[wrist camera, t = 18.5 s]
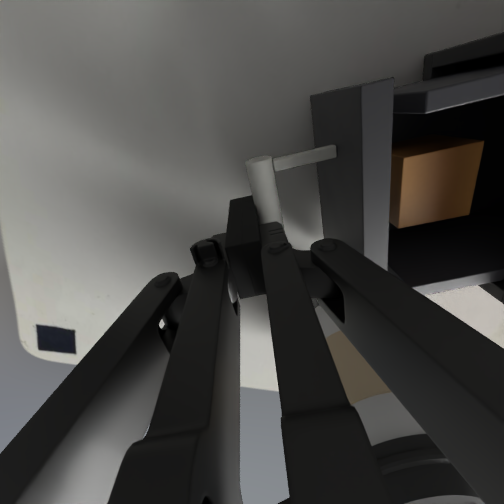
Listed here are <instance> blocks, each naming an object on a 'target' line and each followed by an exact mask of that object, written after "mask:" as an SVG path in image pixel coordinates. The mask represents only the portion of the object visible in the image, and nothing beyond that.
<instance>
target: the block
mask: <svg viewBox="0 0 504 504" xmlns="http://www.w3.org/2000/svg"><path fill="white" fill-rule="evenodd" d="M483 146H484V141H483V140H475V139H467V138H459V137H451V136H443V135H435V134H431V135H427V136H422V137H418V138H413V139H408V140H404V141H399V142H395V143H392V151H391V180H390V209H389V222H390V223H392V224H393V225H394V226H396V227H397V228H404V227H409V226H414V225H419V224H424V223H429V222H435V221H440V220H445V219H450V218H455V217H460V216H465V215H469V213H470V208H471V203H472V198H473V194H474V189H475V184H476V179H477V175H478V170H479V165H480V160H481V155H482V151H483Z"/></svg>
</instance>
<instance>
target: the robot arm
mask: <svg viewBox="0 0 504 504" xmlns="http://www.w3.org/2000/svg"><path fill="white" fill-rule="evenodd" d="M190 251H191V253H192V256H193V259H194V261H195V264H196V267H195V270H194V273H193V274H191V275H188V276H186V277H183V278H181V279H180V278H179V276H178V274H177V273H175V272H167V273H162V274H159V275H158V276H156V277H155V278H153V279H152V280H151V281H150V282H149V283H148V284H147V285H146V286H145V287H144V288H143V290H142V291H141V292H140V293H139V294H138V295H137V297H136V298H135V299H134V300H133V301H132V302H131V303H130V305H129V306H128V307H127V308H126V309H125V310H124V312H123V313H122V314H121V315H120V316H119V317H118V318H117V320H116V321H115V322H114V323H113V324H112V325H111V327H110V328H109V329H108V330H107V331H106V332H105V333H104V335H103V336H102V337H101V338H100V339H99V340H98V342H97V343H96V344H95V345H94V346H93V347H92V349H91V350H90V351H89V352H88V353H87V354H86V355H85V357H84V358H83V359H82V360H81V361H80V362H79V364H78V365H77V366H76V367H75V368H74V369H73V370H72V372H71V373H70V374H69V375H68V376H67V378H66V379H65V380H64V381H63V382H62V383H61V384H60V385H59V387H58V388H57V389H56V390H55V391H54V392H53V394H52V395H51V396H50V397H49V398H48V399H47V400H46V402H45V403H44V404H43V405H42V406H41V407H40V409H39V410H38V411H37V412H36V413H35V414H34V415H33V417H32V418H31V419H30V420H29V421H28V422H27V424H26V425H25V426H24V427H23V428H22V429H21V431H20V432H19V433H18V434H17V435H16V437H14V439H13V440H12V441H11V442H10V443H9V444H8V445H7V447H6V448H5V449H4V450H3V451H2V452H1V454H0V504H243V501H242V495H241V490H240V304H239V301H238V298H237V295H238V294H239V297H240V299H243V298H248V297H253V296H258V295H263V294H266V296H267V304H268V311H269V319H270V327H271V334H272V342H273V349H274V357H275V364H276V372H277V380H278V387H279V394H280V402H281V409H282V417H281V429H282V439H283V446H284V455H285V463H286V471H287V478H288V487H289V495H290V497H289V498H288V499H286V500H284V501H282V502H280V503H278V504H394V502H393V500H392V497H391V495H390V492H389V490H388V487H387V484H386V482H385V479H384V477H383V474H382V471H381V469H380V466H379V464H378V461H377V459H376V456H375V453H374V451H373V448H372V446H371V443H370V440H369V438H368V435H367V433H366V430H365V427H364V425H363V423H362V420H361V418H360V416H359V413H358V411H357V410H356V408H355V407H354V406H352V405H351V404H350V402H349V400H348V398H347V395H346V393H345V390H344V387H343V384H342V382H341V379H340V376H339V373H338V371H337V368H336V365H335V363H334V360H333V357H332V354H331V352H330V349H329V346H328V344H327V341H326V338H325V335H324V333H323V330H322V327H321V324H320V322H319V319H318V316H317V314H316V311H315V308H314V305H313V303H312V300H311V298H317V302H318V304H319V305H320V306H321V307H322V308H323V310H324V311H325V312H326V313H327V314H328V316H329V317H330V318H331V319H332V320H333V322H334V323H335V324H336V325H337V327H338V328H339V329H340V330H341V331H342V333H343V334H344V335H345V336H346V337H347V339H348V340H349V341H350V342H351V343H352V345H353V346H354V347H355V348H356V349H357V351H358V352H359V353H360V354H361V355H362V357H363V358H364V359H365V360H366V361H367V363H368V364H369V365H370V366H371V367H372V369H373V370H374V371H375V372H376V373H377V375H378V376H379V377H380V378H381V379H382V381H383V382H384V383H385V384H386V385H387V387H388V388H389V389H390V390H391V392H392V393H393V394H394V395H395V396H396V398H397V399H398V400H399V401H400V402H401V404H402V405H403V406H404V407H405V408H406V410H407V411H408V412H409V413H410V414H411V416H412V417H413V418H414V419H415V420H416V422H417V423H418V424H419V425H420V426H421V428H422V429H423V430H424V431H425V432H426V434H427V435H428V436H429V437H430V438H431V440H432V441H433V442H434V443H435V444H436V446H437V447H438V448H439V449H440V450H441V452H442V453H443V454H444V455H445V457H446V458H447V459H448V460H449V461H450V463H451V464H452V465H453V466H454V467H455V469H456V470H457V471H458V472H459V473H460V475H461V476H462V477H463V478H464V479H465V481H466V482H467V483H468V484H469V485H470V487H471V488H472V489H473V490H474V491H475V493H476V494H477V495H478V496H479V497H480V499H481V500H482V501H483V502H484V503H485V504H504V349H503V348H502V347H500V346H499V345H497V344H496V343H494V342H493V341H491V340H490V339H488V338H487V337H485V336H484V335H482V334H481V333H479V332H478V331H476V330H475V329H473V328H472V327H470V326H469V325H467V324H466V323H464V322H463V321H461V320H460V319H458V318H457V317H455V316H454V315H452V314H451V313H449V312H448V311H446V310H445V309H443V308H442V307H440V306H439V305H437V304H436V303H434V302H433V301H431V300H430V299H428V298H427V297H425V296H424V295H422V294H421V293H419V292H418V291H416V290H415V289H413V288H412V287H410V286H409V285H407V284H406V283H404V282H403V281H401V280H400V279H398V278H397V277H395V276H394V275H392V274H391V273H389V272H388V271H386V270H385V269H383V268H382V267H380V266H379V265H377V264H376V263H374V262H373V261H371V260H370V259H368V258H367V257H365V256H364V255H362V254H361V253H359V252H358V251H356V250H355V249H353V248H352V247H350V246H349V245H347V244H346V243H344V242H343V241H341V240H338V239H333V238H328V239H327V238H325V239H322V240H318V241H316V242H314V243H313V244H312V245H311V248H310V250H308V251H302V250H296V249H293V248H292V245H291V244H290V243H288V240H287V237H286V235H285V232H284V229H283V226H282V224H281V223H279V222H277V221H274V222H270V223H265V224H261V225H259V222H258V217H257V213H256V208H255V204H254V200H253V195H251V196H247V197H242V198H238V199H233V200H230V207H229V216H228V224H227V232H226V233H222V234H217V235H213V237H212V238H209V239H204V240H201V241H199V242H197V243H195V244H194V245H192V246H191V248H190ZM161 319H163V321H164V323H165V325H164V326H163V328H162V329H161V328H160V327H159V323H160V321H161ZM150 422H151V423H150ZM149 424H150V426H149ZM148 426H149V429H148V432H147V434H146V436H145V437H144V438H143V436H144V434H145V432H146V430H147V428H148ZM142 438H143V439H142Z"/></svg>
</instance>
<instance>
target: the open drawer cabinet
mask: <svg viewBox="0 0 504 504" xmlns="http://www.w3.org/2000/svg"><path fill="white" fill-rule="evenodd" d="M310 102H311V112H312V122H313V132H314V143H315V149H311V150H307V151H303V152H299V153H295V154H290V155H286V156H282V157H278V158H274V159H272V158H271V156H260V157H256V158H252V159H250V160H248V161H246V162H245V164H246V169H247V173H248V178H249V182H250V187H251V191H252V195H253V200H254V204H255V208H256V213H257V217H258V222H259V225H261V224H265V223H270V222H274V221H277V222H279V223H281V224H282V226H283V229H284V225H283V220H282V214H281V208H280V203H279V197H278V191H277V186H276V180H275V174H274V171H275V172H277V171H281V170H285V169H290V168H294V167H298V166H302V165H307V164H311V163H315V162H316V163H317V173H318V183H319V193H320V204H321V214H322V224H323V234H324V239H325V238H327V239H328V238H333V239H338V240H341V241H343V242H344V243H346V244H347V245H349V246H350V247H352V248H353V249H355V250H356V251H358V252H359V253H361V254H362V255H364V256H365V257H367V258H368V259H370V260H371V261H373V262H374V263H376V264H377V265H379V266H380V267H382V268H383V269H385V270H386V271H388V272H389V273H391V274H392V275H394V276H395V277H397V278H398V279H400V280H401V281H403V282H404V283H406V284H407V285H409V286H410V287H412V288H413V289H415V290H416V291H418V292H419V293H421V294H422V295H429V294H434V293H439V292H444V291H449V290H455V289H460V288H465V287H470V286H475V285H481V284H486V283H491V282H496V281H501V280H504V61H501V62H497V63H493V64H489V65H485V66H481V67H477V68H473V69H469V70H465V71H461V72H457V73H453V74H449V75H445V76H441V77H437V78H433V79H428V80H424V81H420V82H416V83H412V84H408V85H404V86H400V87H396V88H394V78H393V77H392V78H387V79H382V80H378V81H373V82H368V83H364V84H359V85H355V86H350V87H345V88H341V89H336V90H331V91H327V92H323V93H319V94H315V95H311V96H310ZM431 134H435V135H443V136H451V137H459V138H467V139H475V140H483V141H484V146H483V151H482V155H481V160H480V165H479V170H478V175H477V179H476V184H475V189H474V194H473V198H472V203H471V208H470V213H469V215H465V216H460V217H455V218H450V219H445V220H440V221H435V222H429V223H424V224H419V225H414V226H409V227H404V228H397V227H396V226H394V225H393V224H392V223H390V222H389V209H390V180H391V151H392V143H395V142H399V141H404V140H408V139H413V138H418V137H422V136H427V135H431ZM284 232H285V231H284Z"/></svg>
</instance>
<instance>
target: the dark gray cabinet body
mask: <svg viewBox="0 0 504 504" xmlns="http://www.w3.org/2000/svg"><path fill="white" fill-rule="evenodd" d="M501 61H504V32H502V33H498V34H495V35H492V36H488V37H485V38H482V39H478V40H475V41H471V42H468V43H465V44H461V45H458V46H455V47H451V48H448V49H444V50H441V51H438V52H434V53H431V54H428V55H425V59H424V72H423V81H424V80H428V79H433V78H437V77H441V76H445V75H449V74H453V73H457V72H461V71H465V70H469V69H473V68H477V67H481V66H485V65H489V64H493V63H497V62H501ZM478 286H480V287H481V288H483V289H484V290H485V291H487V292H488V293H489V294H491V295H492V296H493V297H495V298H496V299H498V300H499V301H500V302H502V303H503V304H504V280H501V281H496V282H491V283H486V284H481V285H478Z"/></svg>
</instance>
